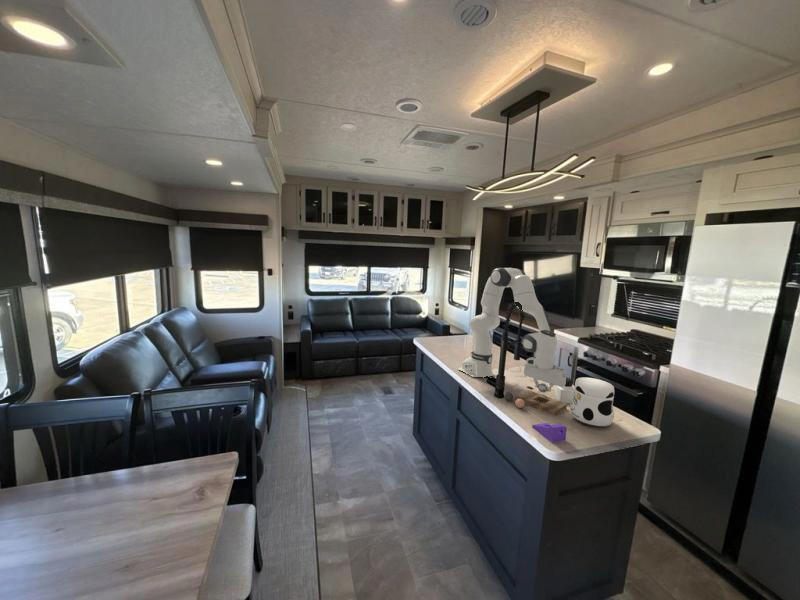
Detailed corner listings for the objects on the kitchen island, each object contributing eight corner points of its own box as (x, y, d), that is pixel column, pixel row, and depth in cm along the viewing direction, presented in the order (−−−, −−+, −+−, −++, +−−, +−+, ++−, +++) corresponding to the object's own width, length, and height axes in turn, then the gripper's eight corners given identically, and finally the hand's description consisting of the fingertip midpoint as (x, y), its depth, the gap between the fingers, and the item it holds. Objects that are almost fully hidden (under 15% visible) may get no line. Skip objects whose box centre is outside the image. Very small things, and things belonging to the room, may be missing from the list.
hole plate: (516, 400, 167) (517, 396, 166) (528, 394, 174) (529, 390, 174) (555, 415, 152) (555, 410, 151) (566, 408, 159) (566, 403, 159)
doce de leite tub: (561, 411, 156) (565, 376, 153) (594, 411, 158) (598, 376, 155) (585, 431, 139) (589, 392, 136) (622, 430, 140) (627, 391, 138)
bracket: (565, 441, 131) (567, 425, 130) (551, 443, 129) (553, 427, 128) (544, 426, 143) (546, 411, 142) (531, 428, 141) (533, 413, 140)
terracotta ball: (513, 407, 159) (513, 398, 159) (517, 404, 162) (518, 396, 162) (521, 410, 156) (522, 401, 155) (526, 407, 159) (526, 399, 158)
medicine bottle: (568, 397, 172) (570, 376, 170) (574, 403, 165) (576, 381, 163) (554, 396, 173) (556, 375, 171) (559, 402, 166) (561, 380, 164)
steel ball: (540, 389, 165) (541, 381, 164) (549, 392, 162) (549, 384, 161) (536, 391, 162) (536, 383, 162) (544, 394, 159) (545, 386, 158)
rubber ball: (502, 399, 167) (503, 391, 167) (507, 397, 170) (507, 389, 170) (510, 402, 164) (510, 394, 163) (514, 400, 167) (515, 392, 166)
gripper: (569, 367, 154) (566, 394, 156) (529, 356, 170) (527, 381, 171) (563, 370, 150) (561, 397, 152) (523, 358, 165) (521, 384, 167)
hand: (543, 389), depth 162 cm, fingers closed on steel ball, 4 cm apart
